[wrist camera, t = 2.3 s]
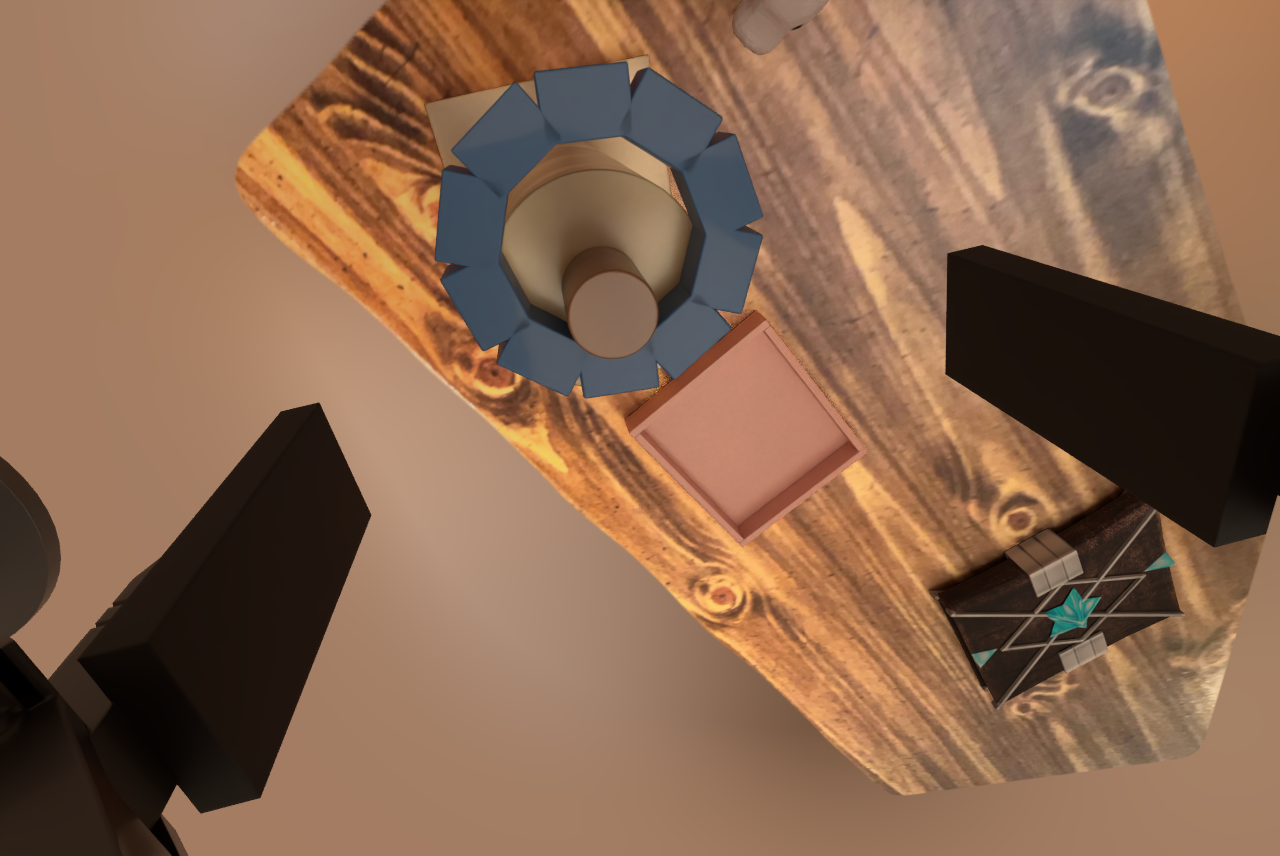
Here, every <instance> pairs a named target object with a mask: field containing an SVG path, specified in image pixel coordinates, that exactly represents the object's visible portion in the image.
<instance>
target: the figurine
mask: <svg viewBox="0 0 1280 856" xmlns="http://www.w3.org/2000/svg"><path fill="white" fill-rule="evenodd" d="M828 1H829V0H742V1H741V3H740V5H739V6H738V8H737V9H736V11H735V13H734V16H733V21H732V26H733V31H734V34H735V35H736V37H737V38H738V39H739V40H740V41H741V43H743V45H744V47H746V48H748V49H749V50H751V51H752V52H753V53H755V54H758V55H763V54H767V53H769V52H771V51H772V50H773V49H775V48H776V46H777V45H778V43H779V42H780V41H781V39H782V38H783V37H784V35H786V34H787V33H789V32H790V31H792V30H795V29H798V28H800V27H802V26H804V25H805V24H807V23H808V22H810V21H811V20H812V19H813V18H814V17H815V16H816V15H817V14H818V13H819V12H820V11H821V10H822V9H823V7H824V6H825V5H826V4H827V2H828Z"/></svg>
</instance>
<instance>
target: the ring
mask: <svg viewBox="0 0 1280 856" xmlns="http://www.w3.org/2000/svg"><path fill="white" fill-rule="evenodd" d="M533 78H534V84H535V90H536V97H537V103H538V106H537V105H536V104H535V103H534V101H533V100H532V99H531V98H530V97H529V96H528V95H527V93H526V92H525V91H524V90H523V89H522V88H521V87H520V85H519V84H518V83H517V82H513V84H512V85H511V86H510V87H509V88H508V89H507V90H506V91H505V92H504V93H503V94H502V95H501V96H500V97H499V99H498V100H497V101H496V102H495V103H494V104H493V105H492V106H491V107H490V108H489V109H488V110H487V111H486V113H485V114H484V115H483V116H482V117H481V118H480V119H479V120H478V121H477V122H476V123H475V124H474V125H473V126H472V128H471V129H470V130H469V131H468V132H467V133H466V134H465V135H464V136H463V137H462V138H461V139H460V140H459V141H458V143H457V144H456V145H455V146H454V147H453V148H452V149H451V152H452V153H453V154H454V155H455V156H456V157H457V158H458V159H459V160H460V161H461V162H462V163H463V164H464V165H465V166H466V167H467V168H465V167H460V166H455V165H449V166H447V167H446V168H444V169H443V170H442V176H441V188H440V200H439V212H438V224H437V236H436V247H435V260H436V261H439V262H445V263H450V265H448V266H447V267H446V269H445V271H444V273H443V275H442V277H441V279H440V280H441V283H442V285H443V286H444V288H445V290H446V291H447V293H448V295H449V296H450V298H451V300H452V301H453V303H454V305H455V306H456V308H457V310H458V311H459V313H460V315H461V316H462V318H463V320H464V321H465V323H466V325H467V326H468V328H469V330H470V331H471V333H472V335H473V336H474V338H475V340H476V341H477V343H478V345H479V346H480V348H481V350H483V351H486V350H488V349H490V348H492V347H494V346H496V345H498V344H499V347H498V355H497V364H498V365H499V366H502V367H504V368H506V369H508V370H510V371H512V372H515V373H517V374H519V375H521V376H523V377H526V378H528V379H530V380H532V381H534V382H536V383H539V384H541V385H543V386H545V387H547V388H549V389H552V390H554V391H556V392H558V393H560V394H562V395H565V396H568V395H569V394H570V392H571V390H572V389H573V387H574V385H575V383H576V381H577V380H578V378H579V376H580V381H581V386H582V391H583V396H584V398H593V397H600V396H606V395H612V394H619V393H625V392H632V391H638V390H645V389H651V388H657V387H659V376H658V366H657V363H658V364H659V365H660V366H661V367H662V368H663V369H664V370H665V371H666V372H667V373H668V374H669V375H670V376H671V378H672V379H676V378H677V377H679V376H680V375H681V374H682V373H683V372H684V371H685V370H686V369H688V368H689V367H690V366H691V365H692V364H693V363H694V362H695V361H696V360H698V359H699V358H700V357H701V356H702V355H703V354H704V353H705V352H707V351H708V350H709V349H710V348H711V347H712V346H713V345H714V344H716V343H717V342H718V341H719V340H720V339H721V338H722V337H723V336H725V335H726V334H727V333H728V332H729V331H730V330H731V326H730V325H729V324H728V323H727V321H726V320H725V319H724V318H723V317H722V316H721V315H720V314H719V312H718V311H717V310H721V311H727V312H732V313H738V314H740V313H742V310H743V307H744V303H745V300H746V296H747V292H748V289H749V285H750V281H751V278H752V274H753V271H754V267H755V263H756V260H757V256H758V253H759V249H760V245H761V242H762V238H763V235H762V234H760V233H758V232H756V231H755V230H753V229H751V228H749V227H747V226H745V225H747V224H749V223H751V222H753V221H755V220H757V219H760V218H762V217H763V214H762V211H761V208H760V205H759V202H758V199H757V196H756V193H755V190H754V187H753V184H752V181H751V178H750V175H749V172H748V169H747V166H746V163H745V160H744V157H743V155H742V152H741V149H740V146H739V143H738V140H737V137H736V134H732V133H724V132H717V133H715V132H716V130H717V129H718V127H719V125H720V123H721V121H722V116H720V115H719V114H717V113H716V112H714V111H713V110H712V109H710V108H709V107H707V106H706V105H704V104H703V103H701V102H700V101H698V100H697V99H695V98H694V97H692V96H691V95H689V94H688V93H686V92H685V91H683V90H682V89H680V88H679V87H677V86H676V85H675V84H673V83H672V82H670V81H669V80H667V79H666V78H664V77H663V76H661V75H660V74H658V73H657V72H655V71H654V70H652V69H651V68H649V67H646V68H643V69H641V70H638V71H637V72H636V74H635V76H634V78H633V80H632V82H631V84H630V78H629V68H628V62H626V61H623V62H614V63H605V64H596V65H587V66H578V67H569V68H560V69H551V70H542V71H535V72H534V76H533ZM615 137H622V138H624V139H625V140H627V141H629V142H630V143H632V144H633V145H635V146H637V147H638V148H640V149H641V150H643V151H645V152H646V153H648V154H649V155H651V156H653V157H654V158H656V159H657V160H659V161H661V162H662V163H664V164H665V165H667V166H669V167H670V169H671V171H672V174H673V176H674V179H675V181H676V184H677V186H678V189H679V192H680V194H681V197H682V199H683V202H684V204H685V207H686V209H687V212H688V215H689V217H690V220H691V222H692V225H693V226H692V230H691V234H690V239H689V243H688V247H687V251H686V256H685V260H684V264H683V268H682V273H681V277H680V281H679V283H678V284H677V285H676V286H675V287H674V288H673V289H672V290H671V291H670V292H669V293H668V294H666V295H665V296H664V297H663V298H662V299H661V300H660V301H659V302H658V309H659V318H658V323H657V327H656V330H655V332H654V334H653V336H652V337H651V339H650V340H649V342H648V343H647V344H646V345H645V346H644V347H643V348H642V349H640V350H639V351H637V352H636V353H634V354H632V355H630V356H627V357H624V358H619V359H604V358H599V357H596V356H594V355H592V354H590V353H588V352H586V351H585V350H584V349H582V348H581V347H580V346H579V345H578V344H577V343H576V341H575V340H574V338H573V337H572V335H571V333H570V330H569V327H568V322H566V321H564V320H562V319H560V318H558V317H556V316H554V315H552V314H550V313H548V312H546V311H544V310H542V309H540V308H538V307H536V306H534V305H532V304H530V302H529V300H528V298H527V296H526V295H525V293H524V291H523V289H522V287H521V285H520V284H519V282H518V280H517V278H516V276H515V274H514V272H513V271H512V269H511V267H510V265H509V263H508V261H507V259H506V258H505V256H504V254H503V252H502V244H503V236H504V228H505V220H506V212H507V204H508V196H509V192H510V191H511V190H512V189H513V188H514V187H515V186H516V185H517V184H518V183H519V182H520V181H521V180H522V179H523V178H524V177H525V176H526V175H527V174H528V173H529V172H530V171H531V170H532V169H533V168H534V167H535V166H536V165H537V164H538V163H539V162H540V161H541V160H542V159H543V158H544V156H545V155H546V154H547V153H548V152H549V151H550V150H551V149H552V148H553V147H554V146H555V145H557V144H565V143H573V142H582V141H590V140H598V139H606V138H615Z"/></svg>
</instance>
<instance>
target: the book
mask: <svg viewBox="0 0 1280 856" xmlns="http://www.w3.org/2000/svg"><path fill="white" fill-rule="evenodd" d="M1005 555H1006V557H1007V560H1005V561H1003V562H1001V563H1000V564H998V565H996V566H994V567H992V568H990V569H988V570H986V571H984V572H982V573H980V574H978V575H976V576H974V577H972V578H970V579H967V580H965V581H963V582H961V583H959V584H957V585H955V586H953V587H951V588H949V589H947V590H945V591H931V592H930V594H931V595H932V597H933V598H934V599H938V600H939V602H940V604H941V606H942V608H943V610H944V612H945V613H946V615H947V617H948V619H949V621H950V623H951V625H952V627H953V629H954V631H955V633H956V635H957V637H958V639H959V641H960V643H961V645H962V647H963V649H964V651H965V653H966V655H967V657H968V659H969V661H970V663H971V665H972V667H973V669H974V671H975V673H976V675H977V678H978V680H979V682H980V684H979V685H980V686H981V687H982V689H983V690H984V691H987V690H988V689H989V691H990V693H991V695H992V697H993V699H994V700H993V701H992V702H991V703H992V705H993V706H994V707H995V708H996V709H997V710H999V709H1000V708H1001V707H1002V705H1003V704H1004V703H1005V702H1006V701H1008V700H1010V699H1012V698H1014V697H1015V696H1017V695H1019V694H1021V693H1023V692H1024V691H1026V690H1028V689H1030V688H1032V687H1033V686H1035V685H1037V684H1039V683H1041V682H1042V681H1044V680H1046V679H1048V678H1050V677H1052V676H1053V675H1055V674H1057V673H1059V672H1061V671H1063V670H1064V671H1065V672H1066V673H1068V672H1070V671H1072V670H1074V669H1076V668H1078V667H1079V666H1081V665H1083V664H1085V663H1087V662H1089V661H1091V660H1093V659H1095V658H1097V657H1099V656H1101V655H1103V654H1105V653H1107V652H1109V651H1108V648H1107V647H1108V646H1110V645H1111V644H1113V643H1115V642H1117V641H1119V640H1121V639H1123V638H1125V637H1127V636H1129V635H1131V634H1133V633H1135V632H1137V631H1140V630H1142V629H1144V628H1146V627H1148V626H1151V625H1153V624H1155V623H1157V622H1159V621H1162V620H1164V619H1166V618H1168V617H1170V616H1184V614H1185V613H1183V612H1182V611H1181V610H1180V609H1179V605H1178V601H1177V597H1176V593H1175V589H1174V585H1173V581H1172V577H1171V572H1170V566H1175V565H1176V564H1175V562H1174V561H1173V560H1172V559H1171V557H1170V556H1169V555H1168V554H1167V553H1166V549H1165V544H1164V539H1163V533H1162V526H1161V520H1160V513H1159V512H1158V511H1157V510H1155V509H1154V508H1152V507H1151V506H1149V505H1147V504H1146V503H1144V502H1143V501H1141V500H1140V499H1138V498H1137V497H1135V496H1133V495H1132V494H1130V493H1129V492H1127V491H1126V490H1124V491H1123V493H1122V494H1121V495H1120V496H1119V497H1118V498H1116V499H1115V500H1113V501H1111V502H1110V503H1108V504H1107V505H1105V506H1103V507H1102V508H1100V509H1099V510H1097V511H1095V512H1094V513H1092V514H1091V515H1089V516H1087V517H1086V518H1084V519H1082V520H1081V521H1079V522H1078V523H1076V524H1074V525H1072V526H1070V527H1068V528H1067V529H1065V530H1063V531H1061V532H1059V533H1057V534H1056V533H1054V532H1053V531H1052V530H1051V529H1049V528H1048V529H1046V530H1044V531H1042V532H1040V533H1038V534H1037V535H1035V536H1033V537H1031V538H1029V539H1027V540H1025V541H1024V542H1022V543H1020V544H1018V545H1016V546H1014V547H1013V548H1011V549H1009V550H1007V551H1005Z"/></svg>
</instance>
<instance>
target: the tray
mask: <svg viewBox="0 0 1280 856" xmlns="http://www.w3.org/2000/svg"><path fill="white" fill-rule="evenodd" d="M625 421H626V424H627V428H628V431H629V434H630V435H631V436H632V437H633V438H634V439H635V440H636V441H637V442H638V443H639V444H640V445H641V446H642V447H643V448H644V449H645V450H646V451H647V452H648V453H649V454H650V455H651V456H652V457H653V458H654V459H655V460H656V461H657V462H658V463H659V464H660V465H661V466H662V467H663V468H664V469H665V470H666V471H667V472H668V473H669V474H670V475H671V476H672V477H673V478H674V479H675V480H676V481H677V482H678V483H679V484H680V485H681V486H682V487H683V488H684V489H685V490H686V491H687V492H688V493H689V494H690V495H691V496H692V497H693V498H694V499H695V500H696V501H697V502H698V503H699V504H700V505H701V506H702V507H703V508H704V509H705V510H706V511H707V512H708V513H709V514H710V515H711V516H712V517H713V518H714V519H715V520H716V521H717V522H718V523H719V524H720V525H721V526H722V527H723V528H724V529H725V530H726V531H727V532H728V533H729V534H730V535H731V536H732V537H733V538H734V539H735V540H736V541H737V542H738V543H739V544H740V545H741V546H742V547H744V546H745V545H746V544H748V543H749V542H750V541H752V540H753V539H754V538H756V537H757V536H758V535H760V534H761V533H762V532H764V531H765V530H766V529H768V528H769V527H770V526H771V525H773V524H774V523H775V522H777V521H778V520H779V519H781V518H782V517H783V516H785V515H786V514H787V513H789V512H790V511H791V510H793V509H794V508H795V507H797V506H798V505H799V504H800V503H802V502H803V501H804V500H806V499H807V498H808V497H810V496H811V495H812V494H814V493H815V492H816V491H818V490H819V489H820V488H822V487H823V486H824V485H826V484H827V483H828V482H829V481H831V480H832V479H833V478H835V477H836V476H837V475H839V474H840V473H841V472H843V471H844V470H845V469H847V468H848V467H849V466H851V465H852V464H853V463H855V462H856V461H857V460H858V459H860V458H861V457H862V456H864V455H865V454H866V453H868V451H867V449H866V448H865V447H864V445H863V444H862V443H861V441H860V440H859V439H858V438H857V436H856V435H855V434H854V432H853V431H852V430H851V429H850V427H849V426H848V425H847V423H846V422H845V421H844V420H843V418H842V417H841V416H840V414H839V413H838V412H837V410H836V409H835V408H834V407H833V405H832V404H831V403H830V401H829V400H828V399H827V398H826V396H825V395H824V394H823V392H822V391H821V390H820V388H819V387H818V386H817V385H816V383H815V382H814V381H813V379H812V378H811V377H810V376H809V374H808V373H807V372H806V370H805V369H804V368H803V366H802V365H801V364H800V363H799V361H798V360H797V359H796V357H795V356H794V355H793V354H792V352H791V351H790V350H789V348H788V347H787V346H786V345H785V343H784V342H783V341H782V339H781V338H780V337H779V335H778V334H777V333H776V332H775V330H774V329H773V328H772V326H771V325H770V324H769V323H768V321H767V320H766V319H765V318H764V317H763V316H762V315H760V314H759V313H758V312H757V311H754V312H753V313H752V314H751V315H750V316H748V317H747V318H746V319H745V320H744V321H743V322H741V323H740V324H739V325H738V326H737V327H735V328H734V329H733V330H732V331H731V332H729V333H728V334H727V335H726V336H725V337H723V338H722V339H721V340H720V341H719V342H717V343H716V344H715V345H714V346H713V347H711V348H710V349H709V350H708V351H707V352H705V353H704V354H703V355H702V356H701V357H700V358H699V359H698V360H696V361H695V362H694V363H693V364H692V365H691V366H690V367H689V368H688V369H686V370H685V371H684V372H683V373H682V374H681V375H680V376H679V377H677V378H676V379H673V380H672V381H671V382H669V383H668V384H667V385H666V386H665V387H663V388H662V389H661V390H660V391H659V392H657V393H656V394H655V395H654V396H653V397H651V398H650V399H649V400H648V401H647V402H645V403H644V404H643V405H642V406H641V407H639V408H638V409H637V410H636V411H635V412H634V413H632V414H631V415H630V416H629V417H628V418H626V419H625Z"/></svg>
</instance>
